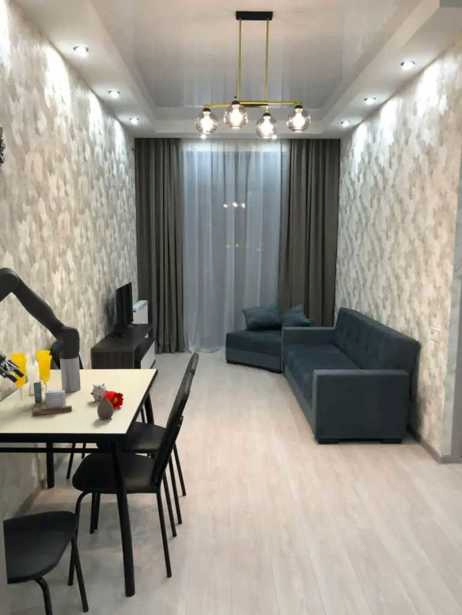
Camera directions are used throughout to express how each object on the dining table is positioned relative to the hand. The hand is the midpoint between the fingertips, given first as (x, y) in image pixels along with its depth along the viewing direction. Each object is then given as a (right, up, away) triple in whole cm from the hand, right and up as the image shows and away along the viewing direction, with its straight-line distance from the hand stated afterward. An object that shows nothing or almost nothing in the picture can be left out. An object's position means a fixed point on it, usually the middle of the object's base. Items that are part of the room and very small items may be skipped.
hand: (19, 378), depth 237 cm
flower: (+45, -13, -4) cm, 46 cm away
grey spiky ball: (+36, -12, +6) cm, 39 cm away
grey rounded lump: (+45, -15, -18) cm, 51 cm away
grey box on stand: (+17, -13, -3) cm, 21 cm away
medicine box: (+20, -14, -6) cm, 24 cm away
